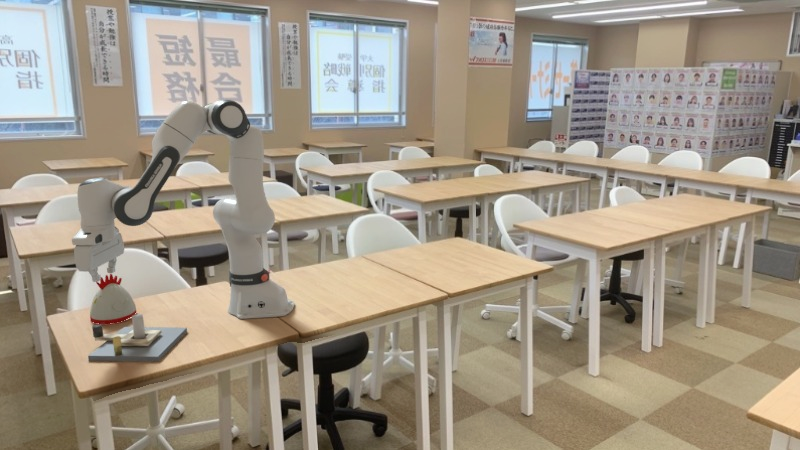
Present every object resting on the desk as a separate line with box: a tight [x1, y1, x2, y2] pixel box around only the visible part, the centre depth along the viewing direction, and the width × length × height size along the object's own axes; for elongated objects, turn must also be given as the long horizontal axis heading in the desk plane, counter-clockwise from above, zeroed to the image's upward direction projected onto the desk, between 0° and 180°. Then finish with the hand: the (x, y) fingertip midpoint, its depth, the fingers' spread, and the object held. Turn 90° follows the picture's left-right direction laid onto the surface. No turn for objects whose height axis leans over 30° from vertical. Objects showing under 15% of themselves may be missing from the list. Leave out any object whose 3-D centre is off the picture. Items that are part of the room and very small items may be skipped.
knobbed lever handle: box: [91, 324, 162, 346], centre depth 164 cm, size 18×9×4 cm, turn 88°
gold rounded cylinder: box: [113, 336, 123, 356], centre depth 156 cm, size 2×2×5 cm
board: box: [87, 313, 188, 362], centre depth 164 cm, size 20×20×10 cm
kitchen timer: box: [89, 273, 137, 325], centre depth 185 cm, size 14×14×15 cm
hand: (104, 276), depth 168 cm, fingers open, 7 cm apart
